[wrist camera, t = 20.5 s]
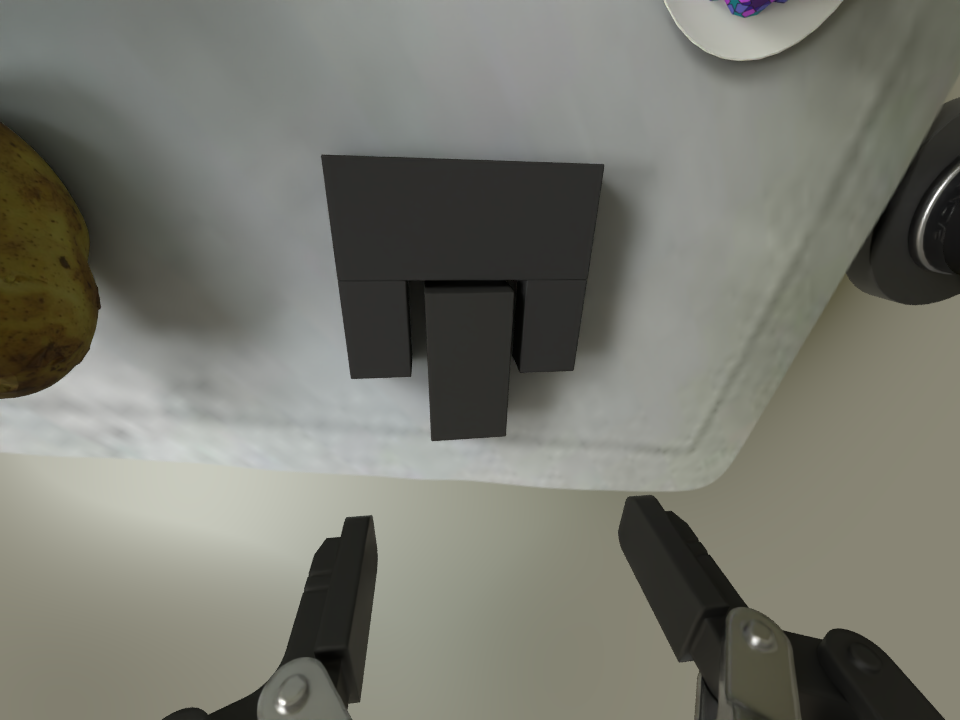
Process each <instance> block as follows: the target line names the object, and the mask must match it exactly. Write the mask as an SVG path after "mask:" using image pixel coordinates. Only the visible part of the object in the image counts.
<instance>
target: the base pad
mask: <svg viewBox="0 0 960 720" xmlns="http://www.w3.org/2000/svg"><path fill="white" fill-rule="evenodd" d="M321 159H322V166H323V174H324V181H325V189H326V196H327V204H328V211H329V219H330V226H331V233H332V241H333V248H334V256H335V263H336V271H337V278H338V285H339V293H340V300H341V308H342V315H343V323H344V330H345V338H346V345H347V353H348V360H349V368H350V375H351V379H363V378H391V377H411V373H412V342H411V324H410V305H409V287H408V280H517V293H516V307H515V321H514V336H513V350H512V357H513V359H514V361H515V363H516V365H517V368H518V370H519V372H520V373H527V372H555V371H573V370H574V364H575V357H576V351H577V344H578V337H579V330H580V324H581V317H582V310H583V304H584V297H585V290H586V284H587V280H586V279H587V278H588V271H589V265H590V258H591V251H592V244H593V238H594V231H595V224H596V218H597V211H598V204H599V198H600V191H601V184H602V178H603V171H604V164H581V163H552V162H522V161H493V160H463V159H434V158H404V157H375V156H346V155H321Z"/></svg>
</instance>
